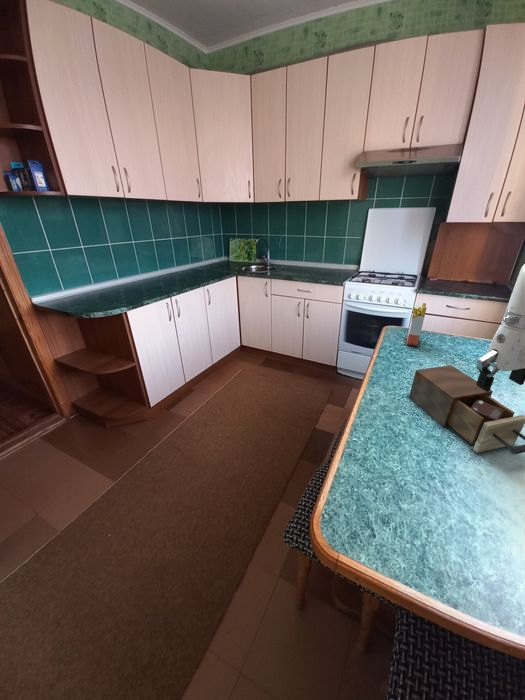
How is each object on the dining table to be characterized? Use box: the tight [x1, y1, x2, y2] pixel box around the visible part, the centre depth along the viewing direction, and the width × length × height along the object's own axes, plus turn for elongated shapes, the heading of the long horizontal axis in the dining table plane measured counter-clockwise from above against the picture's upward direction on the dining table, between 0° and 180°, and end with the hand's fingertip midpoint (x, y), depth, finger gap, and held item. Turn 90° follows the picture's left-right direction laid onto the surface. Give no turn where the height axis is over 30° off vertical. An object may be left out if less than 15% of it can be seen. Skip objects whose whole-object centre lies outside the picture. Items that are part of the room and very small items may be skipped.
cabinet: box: [408, 364, 493, 428], centre depth 86 cm, size 15×13×11 cm
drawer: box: [447, 394, 525, 455], centre depth 74 cm, size 19×11×9 cm, turn 13°
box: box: [471, 400, 504, 437], centre depth 75 cm, size 6×6×7 cm
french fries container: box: [406, 302, 427, 347], centre depth 125 cm, size 5×11×18 cm, turn 153°
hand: (499, 385), depth 71 cm, fingers open, 9 cm apart
